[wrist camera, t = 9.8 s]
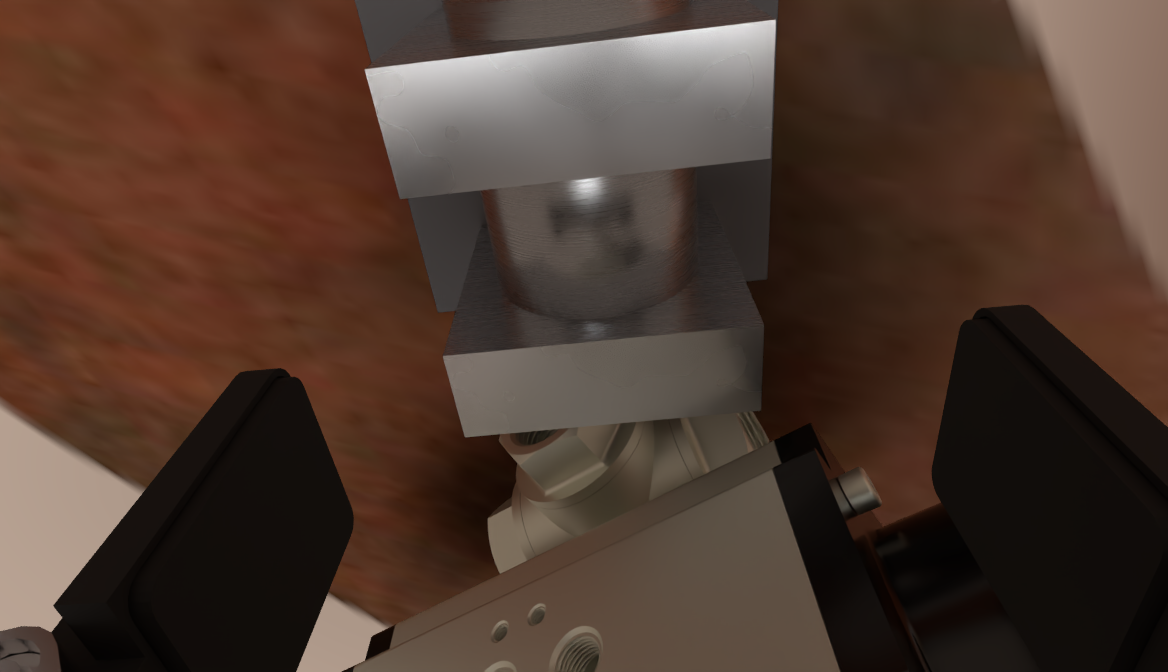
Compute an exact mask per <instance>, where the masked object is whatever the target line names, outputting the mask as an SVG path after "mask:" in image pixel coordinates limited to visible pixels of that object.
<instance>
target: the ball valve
mask: <svg viewBox="0 0 1168 672" xmlns="http://www.w3.org/2000/svg"><path fill="white" fill-rule="evenodd" d="M499 442H500V443H501V445H502V446H503V447H504V448H505V450H506V451H507V452H508V453H509V454H510V455H511V457H512V458H513V459H514V460H515V461H516V462H517V468H516V481H517V482H516V484H515V486H514V489H513V493H512V497H511V498H509V499H508V500H507V501H506V502H504V503H503V504H502V505H501V506H499V507H498V508H497V509H496V510H495V511H494V512H493V513H492V514H491V515H490V516H489V518H488V535H489V542H490V547H491V551H492V555H493V558H494V561H495V564H496V566H497V568H498V571H499V573H500V574H499V575H497V576H495V577H492V578H490V579H488V580H486V581H484V582H482V583H480V584H478V585H476V586H474V587H472V588H470V589H468V590H466V591H464V592H462V593H460V594H458V595H455V596H453V597H451V598H449V599H447V600H445V601H443V602H441V603H439V604H437V605H435V606H433V607H431V608H429V609H427V610H425V611H423V612H421V613H419V614H416V615H414V616H412V617H410V618H408V619H406V620H404V621H402V622H400V623H398V624H396V625H394V626H392V627H390V628H388V629H386V630H384V631H382V632H380V633H377V634H376V635H373V636H372V637H371V641H370V644H369V648H368V651H367V656H366V659H365V661H363V662H361V663H359V664H357V665H355V666H353V667H351V668H348V669H347V670H344V671H342V672H1041V670H1040V668H1039V667H1038V665H1037V663H1036V661H1035V660H1034V658H1033V656H1032V655H1031V653H1030V651H1029V650H1028V648H1027V646H1026V645H1025V643H1024V641H1023V639H1022V638H1021V636H1020V634H1019V633H1018V631H1017V629H1016V628H1015V626H1014V624H1013V623H1012V621H1011V619H1010V617H1009V616H1008V614H1007V612H1006V611H1005V609H1004V607H1003V606H1002V604H1001V602H1000V601H999V599H998V597H997V595H996V594H995V592H994V590H993V589H992V587H991V585H990V584H989V582H988V580H987V579H986V577H985V575H984V574H983V572H982V570H981V568H980V567H979V565H978V563H977V562H976V560H975V558H974V557H973V555H972V553H971V552H970V550H969V548H968V546H967V545H966V543H965V541H964V540H963V538H962V536H961V535H960V533H959V531H958V530H957V528H956V526H955V524H954V523H953V521H952V519H951V518H950V516H949V514H948V513H947V511H946V509H945V508H944V506H943V504H942V502H941V503H939V504H936V505H934V506H932V507H929V508H927V509H924V510H922V511H920V512H917V513H915V514H912V515H910V516H908V517H905V518H903V519H901V520H898V521H896V522H894V523H891V524H889V525H886V526H884V527H882V525H881V524H880V522H879V521H878V520H877V518H876V517H875V515H874V514H873V512H872V511H871V510H873V509H875V508H877V507H880V506H881V504H882V502H881V499H880V497H879V495H878V493H877V491H876V489H875V487H874V485H873V483H872V482H871V480H870V478H869V477H868V475H867V474H866V472H865V471H864V469H863V468H861V467H857V468H855V469H853V470H851V471H848V472H846V473H845V471H844V470H843V468H842V467H841V465H840V464H839V462H838V461H837V460H836V458H835V457H834V455H833V454H832V452H831V451H830V449H829V448H828V446H827V445H826V443H825V442H824V440H823V439H822V438H821V436H820V435H819V433H818V432H817V430H816V429H815V427H814V426H813V424H812V423H809V424H807V425H805V426H803V427H801V428H799V429H797V430H794V431H792V432H790V433H788V434H786V435H784V436H782V437H780V438H778V439H776V440H774V441H772V442H770V441H769V439H768V437H767V435H766V433H765V431H764V430H763V428H762V426H761V424H760V423H759V421H758V419H757V418H756V416H755V414H754V413H753V411H752V412H741V413H730V414H718V415H707V416H696V417H685V418H674V419H663V420H652V421H641V422H630V423H619V424H608V425H596V426H585V427H574V428H563V429H552V430H541V431H530V432H519V433H508V434H500V437H499Z"/></svg>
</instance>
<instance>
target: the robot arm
mask: <svg viewBox="0 0 1168 672" xmlns="http://www.w3.org/2000/svg"><path fill="white" fill-rule="evenodd" d="M932 481H933V486H934V489H935V491H936V494H937V496H938V497H939V499H940V501H941V502H942V504H943V506H944V508H945V509H946V511H947V513H948V514H949V516H950V518H951V519H952V521H953V523H954V524H955V526H956V528H957V530H958V531H959V533H960V535H961V536H962V538H963V540H964V541H965V543H966V545H967V546H968V548H969V550H970V552H971V553H972V555H973V557H974V558H975V560H976V562H977V563H978V565H979V567H980V568H981V570H982V572H983V574H984V575H985V577H986V579H987V580H988V582H989V584H990V585H991V587H992V589H993V590H994V592H995V594H996V595H997V597H998V599H999V601H1000V602H1001V604H1002V606H1003V607H1004V609H1005V611H1006V612H1007V614H1008V616H1009V617H1010V619H1011V621H1012V623H1013V624H1014V626H1015V628H1016V629H1017V631H1018V633H1019V634H1020V636H1021V638H1022V639H1023V641H1024V643H1025V645H1026V646H1027V648H1028V650H1029V651H1030V653H1031V655H1032V656H1033V658H1034V660H1035V661H1036V663H1037V665H1038V667H1039V668H1040V670H1041V672H1168V427H1167V426H1166V425H1164V424H1163V423H1162V422H1161V421H1160V420H1159V419H1158V418H1157V417H1155V416H1154V415H1153V414H1152V413H1151V412H1150V411H1149V410H1148V409H1146V408H1145V407H1144V406H1143V405H1142V404H1141V403H1140V402H1139V401H1137V400H1136V399H1135V398H1134V397H1133V396H1132V395H1131V394H1130V393H1128V392H1127V391H1126V390H1125V389H1124V388H1123V387H1122V386H1121V385H1119V384H1118V383H1117V382H1116V381H1115V380H1114V379H1113V378H1112V377H1110V376H1109V375H1108V374H1107V373H1106V372H1105V371H1104V370H1103V369H1101V368H1100V367H1099V366H1098V365H1097V364H1096V363H1095V362H1094V361H1092V360H1091V359H1090V358H1089V357H1088V356H1087V355H1086V354H1085V353H1083V352H1082V351H1081V350H1080V349H1079V348H1078V347H1077V346H1075V345H1074V344H1073V343H1072V342H1071V341H1070V340H1069V339H1068V338H1066V337H1065V336H1064V335H1063V334H1062V333H1061V332H1060V331H1059V330H1057V329H1056V328H1055V327H1054V326H1053V325H1052V324H1051V323H1050V322H1048V321H1047V320H1046V319H1045V318H1044V317H1043V316H1042V315H1041V314H1039V313H1038V312H1037V311H1036V310H1035V309H1034V308H1032V307H1030V306H1029V305H1014V306H1002V307H991V308H981V309H979V310H978V311H977V312H976V313H975V315H974V316H973V319H972V320H966V321H964V322H963V324H962V325H961V327H960V331H959V335H958V340H957V345H956V350H955V355H954V360H953V365H952V370H951V375H950V380H949V385H948V390H947V395H946V400H945V405H944V410H943V415H942V420H941V425H940V430H939V435H938V440H937V445H936V450H935V455H934V460H933V465H932ZM353 521H354V518H353V511H352V507H351V505H350V502H349V500H348V497H347V495H346V492H345V490H344V487H343V484H342V482H341V479H340V477H339V474H338V472H337V469H336V467H335V464H334V462H333V459H332V457H331V454H330V452H329V449H328V446H327V444H326V441H325V439H324V436H323V434H322V431H321V429H320V426H319V424H318V421H317V419H316V416H315V414H314V411H313V408H312V406H311V403H310V401H309V398H308V396H307V393H306V391H305V388H304V386H303V384H302V382H301V381H300V380H299V379H298V378H296V377H291V376H290V375H289V373H288V372H287V371H286V370H284V369H281V368H278V369H266V370H255V371H245V372H240V373H239V374H238V375H237V376H236V377H235V378H234V379H233V380H232V382H231V383H230V384H229V386H228V387H227V388H226V389H225V391H224V392H223V393H222V394H221V396H220V397H219V398H218V399H217V401H216V402H215V403H214V404H213V406H212V407H211V408H210V409H209V411H208V412H207V413H206V414H205V416H204V417H203V418H202V419H201V421H200V422H199V423H198V424H197V426H196V427H195V428H194V429H193V431H192V432H191V433H190V434H189V436H188V437H187V438H186V440H185V441H184V442H183V443H182V445H181V446H180V447H179V448H178V450H177V451H176V452H175V453H174V455H173V456H172V457H171V458H170V460H169V461H168V462H167V463H166V465H165V466H164V467H163V468H162V470H161V471H160V472H159V473H158V475H157V476H156V477H155V478H154V480H153V481H152V482H151V483H150V485H149V486H148V487H147V488H146V490H145V491H144V492H143V494H142V495H141V496H140V497H139V499H138V500H137V501H136V502H135V504H134V505H133V506H132V507H131V509H130V510H129V511H128V512H127V514H126V515H125V516H124V517H123V519H122V520H121V521H120V522H119V524H118V525H117V526H116V527H115V529H114V530H113V531H112V533H111V534H110V535H109V536H108V537H107V539H106V540H105V541H104V543H103V544H102V545H101V546H100V548H99V549H98V550H97V551H96V553H95V554H94V555H93V556H92V558H91V559H90V560H89V562H88V563H87V564H86V565H85V566H84V568H83V569H82V570H81V571H80V573H79V574H78V575H77V576H76V578H75V579H74V580H73V581H72V583H71V584H70V585H69V587H68V588H67V589H66V590H65V592H64V593H63V594H62V595H61V597H60V598H59V599H58V601H57V602H56V603H55V604H54V607H55V609H56V610H57V611H58V613H59V614H60V615H61V616H62V619H61V621H60V622H59V624H58V625H57V626H56V627H55V628H54V630H53V631H52V632H49V631H47V630H45V629H43V628H41V627H27V626H23V627H22V626H21V627H17V628H13V629H8V630H5V631H0V672H296V671H297V668H298V666H299V663H300V661H301V658H302V656H303V653H304V651H305V648H306V646H307V643H308V641H309V638H310V636H311V633H312V631H313V628H314V626H315V624H316V621H317V619H318V616H319V614H320V611H321V609H322V606H323V604H324V601H325V599H326V596H327V594H328V591H329V589H330V586H331V584H332V581H333V579H334V576H335V574H336V571H337V569H338V566H339V564H340V561H341V559H342V556H343V554H344V551H345V549H346V546H347V544H348V542H349V539H350V537H351V534H352V530H353Z"/></svg>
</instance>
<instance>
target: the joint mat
mask: <svg viewBox="0 0 1168 672" xmlns="http://www.w3.org/2000/svg"><path fill="white" fill-rule="evenodd" d="M746 1H748V2H749V3H751V4H753V5H754V6H756V7H757V8H759V9H760V10H762V11H763V12H765V13H766V14H768V15H770V16H771V17H773V18H774V19H776V30H775V56H774V82H773V108H772V134H771V158H770V159H761V160H752V161H743V162H734V163H724V164H715V165H706V166H697V167H696V175H697V202H705V201H711V202H712V205H713V207H714V209H715V212H716V214H717V216H718V219H719V221H720V223H721V226H722V228H723V230H724V233H725V235H726V237H727V240H728V242H729V244H730V246H731V249H732V251H733V253H734V256H735V258H736V260H737V263H738V265H739V267H740V270H741V272H742V274H743V277H744V279H745V281H746V282H747V281H757V280H766V279H767V273H768V248H769V222H770V197H771V171H772V146H773V120H774V95H775V69H776V44H777V18H778V0H746ZM355 3H356V6H357V10H358V14H359V18H360V22H361V25H362V29H363V33H364V37H365V40H366V44H367V48H368V52H369V55H370V59H371V63H373V62H374V61H375V60H376V59H378V58H379V57H380V56H381V55H382V54H383V53H385V52H386V51H387V50H388V49H389V48H391V47H392V46H393V45H394V44H395V43H397V42H398V41H399V40H400V39H401V38H403V37H404V36H405V35H406V34H407V33H409V32H410V31H411V30H412V29H413V28H415V27H416V26H417V25H418V24H419V23H421V22H422V21H423V20H424V19H425V18H427V17H428V16H429V15H430V14H431V13H433V12H434V11H435V10H439V9H443V6H442V1H441V0H355ZM408 202H409V206H410V209H411V213H412V217H413V221H414V224H415V228H416V232H417V236H418V239H419V243H420V247H421V251H422V254H423V258H424V262H425V266H426V269H427V273H428V277H429V281H430V284H431V288H432V292H433V296H434V300H435V303H436V307H437V311H438V313H439V312H448V311H456V309H457V305H458V302H459V299H460V295H461V292H462V288H463V285H464V281H465V278H466V274H467V271H468V268H469V264H470V261H471V257H472V254H473V250H474V247H475V244H476V240H477V237H478V233H479V230H480V226H481V225H487V222H486V217H485V212H484V207H483V202H482V197H481V192H480V190H479V191H470V192H461V193H451V194H442V195H433V196H424V197H415V198H408Z"/></svg>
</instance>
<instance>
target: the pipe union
mask: <svg viewBox="0 0 1168 672" xmlns="http://www.w3.org/2000/svg"><path fill="white" fill-rule="evenodd" d="M441 1H442V6H443V9H439V10H435V11H434V12H433V13H431V14H430V15H429V16H428V17H427V18H425V19H424V20H423V21H422V22H421V23H419V24H418V25H417V26H416V27H415V28H413V29H412V30H411V31H410V32H409V33H407V34H406V35H405V36H404V37H403V38H401V39H400V40H399V41H398V42H397V43H395V44H394V45H393V46H392V47H391V48H389V49H388V50H387V51H386V52H385V53H383V54H382V55H381V56H380V57H379V58H378V59H376V60H375V61H374V62H373V63H372V64H370V65H369V66H368V67H367V68H366V69H365V73H366V76H367V80H368V84H369V87H370V91H371V95H372V98H373V102H374V106H375V109H376V113H377V117H378V120H379V124H380V128H381V131H382V135H383V139H384V142H385V146H386V150H387V153H388V157H389V161H390V164H391V168H392V172H393V175H394V179H395V183H396V186H397V190H398V194H399V197H400V199H406V198H415V197H424V196H433V195H442V194H451V193H461V192H470V191H479V190H480V192H481V197H482V202H483V207H484V212H485V217H486V222H487V225H481V226H480V230H479V233H478V237H477V240H476V244H475V247H474V250H473V254H472V257H471V261H470V264H469V268H468V271H467V274H466V278H465V281H464V285H463V288H462V292H461V295H460V299H459V302H458V305H457V309H456V312H455V316H454V319H453V323H452V326H451V330H450V333H449V336H448V340H447V343H446V347H445V350H444V354H443V359H444V363H445V366H446V370H447V374H448V377H449V381H450V385H451V388H452V392H453V396H454V399H455V403H456V407H457V410H458V414H459V418H460V421H461V425H462V429H463V432H464V436H465V437H474V436H486V435H497V434H508V433H519V432H530V431H541V430H552V429H563V428H574V427H585V426H596V425H608V424H619V423H630V422H641V421H652V420H663V419H674V418H685V417H696V416H707V415H718V414H730V413H741V412H752V411H761V396H762V370H763V344H764V323H763V321H762V319H761V316H760V314H759V312H758V309H757V307H756V305H755V302H754V300H753V298H752V295H751V293H750V291H749V288H748V286H747V284H746V281H745V279H744V277H743V274H742V272H741V270H740V267H739V265H738V263H737V260H736V258H735V256H734V253H733V251H732V249H731V246H730V244H729V242H728V240H727V237H726V235H725V233H724V230H723V228H722V226H721V223H720V221H719V219H718V216H717V214H716V212H715V209H714V207H713V205H712V202H711V201H705V202H697V175H696V167H697V166H706V165H715V164H724V163H734V162H743V161H752V160H761V159H770V158H771V134H772V108H773V82H774V56H775V30H776V19H774V18H773V17H771V16H770V15H768V14H766V13H765V12H763V11H762V10H760V9H759V8H757V7H756V6H754V5H753V4H751V3H749V2H748V1H746V0H441Z"/></svg>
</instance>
